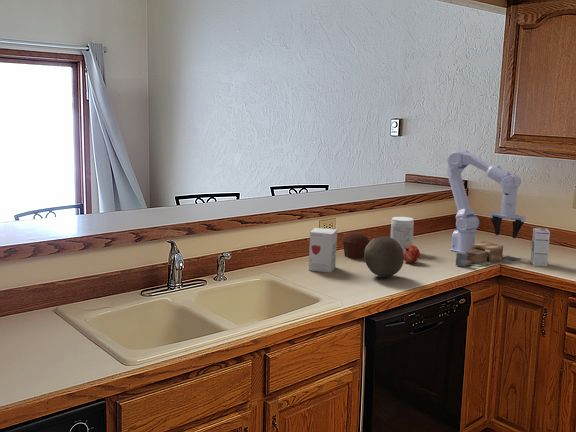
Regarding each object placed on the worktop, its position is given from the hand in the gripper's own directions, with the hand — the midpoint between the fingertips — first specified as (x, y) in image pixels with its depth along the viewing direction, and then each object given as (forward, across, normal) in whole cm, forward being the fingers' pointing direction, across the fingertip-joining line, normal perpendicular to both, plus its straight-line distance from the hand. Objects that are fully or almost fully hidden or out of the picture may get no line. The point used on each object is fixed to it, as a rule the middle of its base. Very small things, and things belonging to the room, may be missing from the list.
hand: (505, 236), depth 257 cm
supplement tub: (+10, -35, -24) cm, 44 cm away
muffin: (+10, -42, -46) cm, 63 cm away
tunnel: (+10, -5, -5) cm, 12 cm away
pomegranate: (+10, -21, -36) cm, 43 cm away
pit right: (+10, +1, +4) cm, 11 cm away
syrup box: (+10, +13, +4) cm, 17 cm away
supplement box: (+10, -36, -72) cm, 81 cm away
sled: (+10, -5, -18) cm, 21 cm away
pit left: (+10, -8, +4) cm, 13 cm away
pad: (+10, -5, -15) cm, 19 cm away
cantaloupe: (+10, -14, -63) cm, 65 cm away
